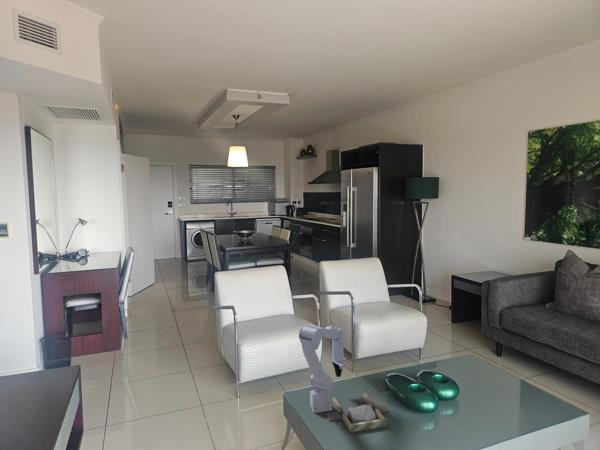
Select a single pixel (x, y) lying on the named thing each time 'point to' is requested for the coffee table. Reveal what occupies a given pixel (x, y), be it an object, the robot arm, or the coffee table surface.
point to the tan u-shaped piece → (363, 425)
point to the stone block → (361, 414)
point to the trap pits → (336, 416)
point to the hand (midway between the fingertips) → (338, 376)
